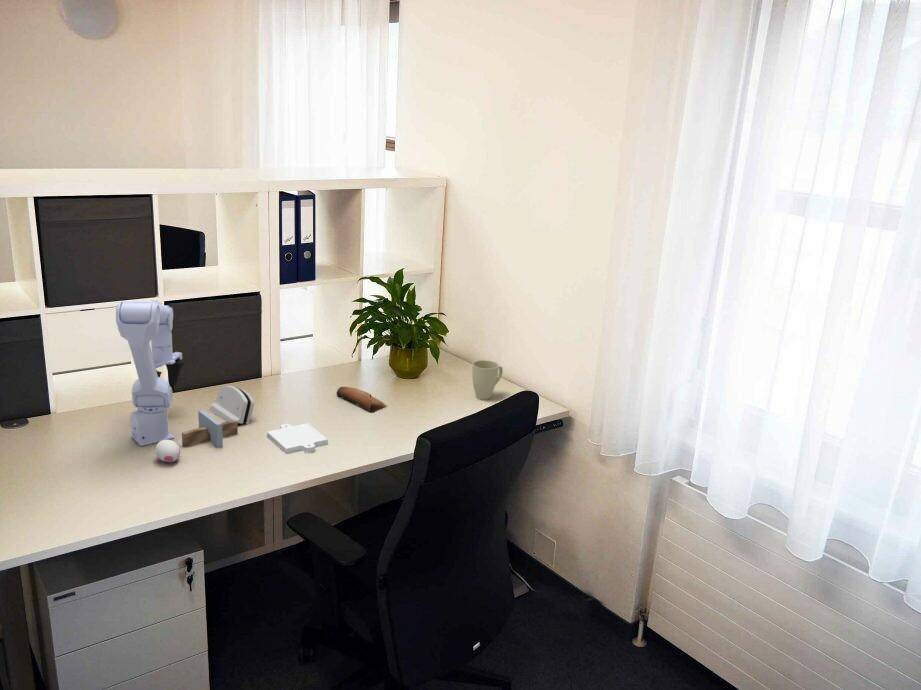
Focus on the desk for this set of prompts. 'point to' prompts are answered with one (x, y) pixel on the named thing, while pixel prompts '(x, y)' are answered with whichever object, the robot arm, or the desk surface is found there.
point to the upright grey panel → (211, 427)
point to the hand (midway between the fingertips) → (164, 387)
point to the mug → (485, 378)
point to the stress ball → (167, 451)
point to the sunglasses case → (361, 398)
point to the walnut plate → (202, 435)
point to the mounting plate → (297, 438)
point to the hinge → (233, 405)
